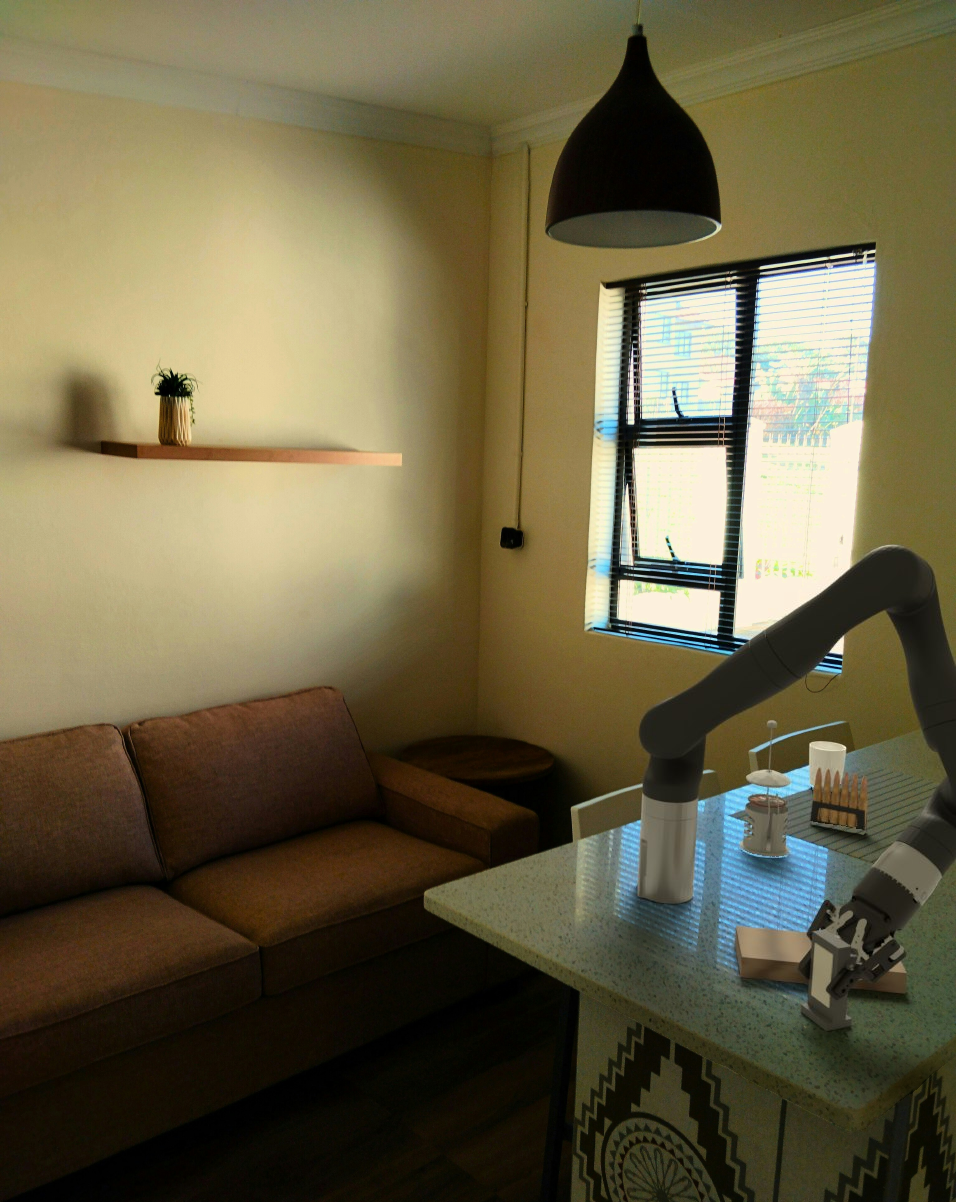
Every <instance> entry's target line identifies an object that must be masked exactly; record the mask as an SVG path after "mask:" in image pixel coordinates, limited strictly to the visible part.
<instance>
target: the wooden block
mask: <svg viewBox="0 0 956 1202" xmlns="http://www.w3.org/2000/svg"><path fill="white" fill-rule="evenodd" d="M835 935H836V934H835ZM836 936H837V937H838V938H840V937H839V936H838V934H837V935H836ZM811 946H812V942H811V940H810V939H809V937H808V936H807V931H806V932H805V931H793V930H785V929H783V930H782V929H775V928H761V927H750V926H742V925H741V926H740V925H736V926H735V935H734V947H735V953H736V958H737V959H736V960H737V965H738V970H739V974H740V977H741V978H746V979H747V978H748V979H755V980H756V979H757V980H764V981H777V982H785V983H786V982H787V983H795V984H796V983H797V984H807V985H809V980H808V979H806V978H805V977H803V976H802V975H801V974H800V972H799V971H798V967H799V966H798V965H799V963H800V961H801V960H802V959H803V958H804V957H805V955H806V954H807V953H808V951H809V950H810V949H811ZM880 948H881V947H880ZM880 948H878V949H877V951H878V950H879V949H880ZM877 951H876V952H877ZM878 965H879V964H878ZM878 965H877V966H878ZM877 966H876V967H877ZM876 967H874V968H873V969H872V970H874V969H875V968H876ZM907 977H908V972H907V971H906V969H905V966H904V964H903V962H902V960H901V961H900V962H899V963H897V964H896V965H895V966H894V967H893V968H892V969H890V970H889V971H888V972H887V973H886V974H884V975H883V976H882V977H881V978H880V979H878V980H877V981H876V982H875V983H870V982H869V981H868V980H864V979H862V980H858V981H856V983H855V984H854V985H853V986H852V988H851V989H855V990H865V991H875V992H886V993H896V994H906V990H907V989H906V987H907Z"/></svg>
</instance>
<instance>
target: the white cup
mask: <svg viewBox="0 0 956 1202" xmlns="http://www.w3.org/2000/svg"><path fill="white" fill-rule="evenodd" d="M808 748H809V751H808V752H809V757H808V758H809V760H808V765H809V767H808V772H809V774H808V775H809V785H810V784H811V785H813V786H814V785H815V780H816V773H817V770H818V768H819V767H820V769H821V773H822V787H824V781H825V775H826V772H827V770H828V769H829V770H830V774H831V787H833V784H834V777H835V774H836V771H837V770H838V771H839V775H840V784H841V785H842V783H843V778H844V773H845V772H844V770H845V763H846V755H847V747H846V746H845V745H843V744H841V743H838V742H832V741H821V740H820V741H812V742H809V747H808Z"/></svg>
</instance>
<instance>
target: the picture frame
mask: <svg viewBox="0 0 956 1202" xmlns="http://www.w3.org/2000/svg"><path fill="white" fill-rule="evenodd" d="M835 935H836V934H835ZM835 935H833V934H831V933H830V932H828V931H827V930H825V929H824V930H820V929H819V930H818V931H812V946H811V965H810V979H809V984H808V990H807V991H808V992H807V1001H806V1002H807V1003H806V1002H805V1003H802V1004H800V1012H801V1013H802V1014H803V1015H805V1016H806V1017H807V1018H808V1019H810V1020H811V1021H812V1022H814V1023H815V1024H816V1025H818V1026H819V1027H820V1028H821V1029H822V1030H824V1031H825V1032H829V1031H833V1030H837V1029H842V1028H847V1027H848V1028H849V1027H852V1023H853V1018H852V1017H851V1016H849V1015H847V1006H848V995H849V991H848V992H847V994H846V995H845V996H844V997H843V998H840V999H839V1000H835V999H833V998H832V997H831V996H830V995H829V994H828V993H827V992H826V987H827V986H828V985H829V983H830V982H831V981H832V980H833V978H834V977H835V976H836V975H837V974H838V973H839V972H840V970H841V969H842V968H845V969H846V964H847V961H848V959H849V958H850V956H851V946H850V945H849V944H847V943H845V942H844V941H842V940H841V939H839V938H838V937H836V936H835Z"/></svg>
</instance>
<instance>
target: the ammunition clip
mask: <svg viewBox="0 0 956 1202" xmlns="http://www.w3.org/2000/svg"><path fill="white" fill-rule="evenodd" d="M867 778H868V777H867V776H866V775H863V776H862V779H861V784H860V789H859V780H858V779H859V777H858V774H857V773H854V774H853V776H852V780H851V781H852V782H851V787H850V777H849V774H848V772H847V771H846V772H844V774H843V778H842V784H841V790H840V775H839V771H838V770H837V771H836V774H835V777H834V784H833V789H832V793H831V774H830V770H829V769H828V770H827V772H826V775H825V781H824V787H823V792H822V773H821V769H820V767H819V768H818V770H817V773H816V780H815V785H814V790H813V793H812V801H811V802H812V803H811V811H810V819H809V822H810V821H813V822H818V823H825V824H833V825H841V826H846V825H847V826H846V827H850V828H853V827H856V829H862V830H865V827H866V828H867V825H868V823H867V821H868V820H867V817H868V815H867V814H868V781H867V780H868V779H867ZM849 790H850V791H849ZM859 790H860V791H859ZM856 825H857V826H856Z"/></svg>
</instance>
